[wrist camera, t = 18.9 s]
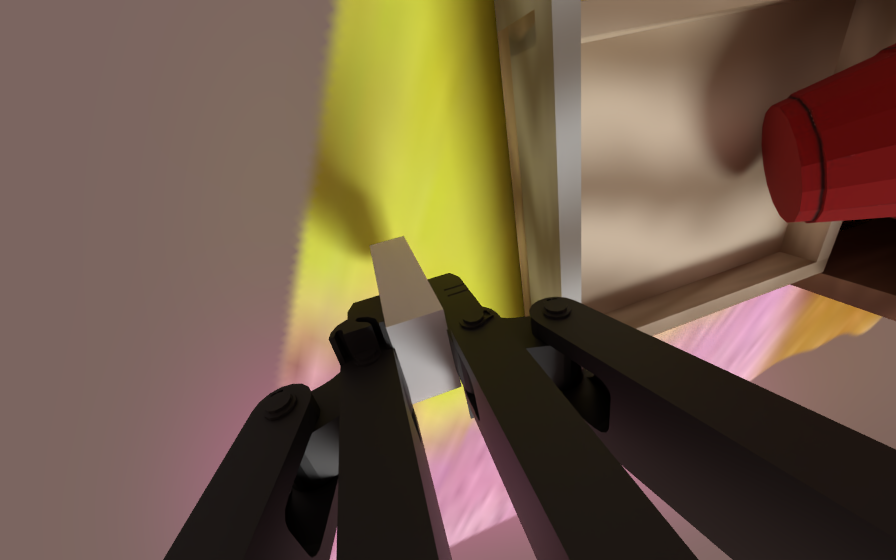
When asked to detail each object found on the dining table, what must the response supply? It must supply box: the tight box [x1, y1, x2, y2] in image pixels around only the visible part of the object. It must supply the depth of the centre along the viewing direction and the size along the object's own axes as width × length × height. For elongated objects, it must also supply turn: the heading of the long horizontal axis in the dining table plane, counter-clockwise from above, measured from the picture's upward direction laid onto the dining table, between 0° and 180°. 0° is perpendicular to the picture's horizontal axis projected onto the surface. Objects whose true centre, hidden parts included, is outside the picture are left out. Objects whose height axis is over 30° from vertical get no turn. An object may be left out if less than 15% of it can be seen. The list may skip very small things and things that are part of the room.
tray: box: [494, 0, 896, 336], centre depth 17 cm, size 20×20×4 cm
